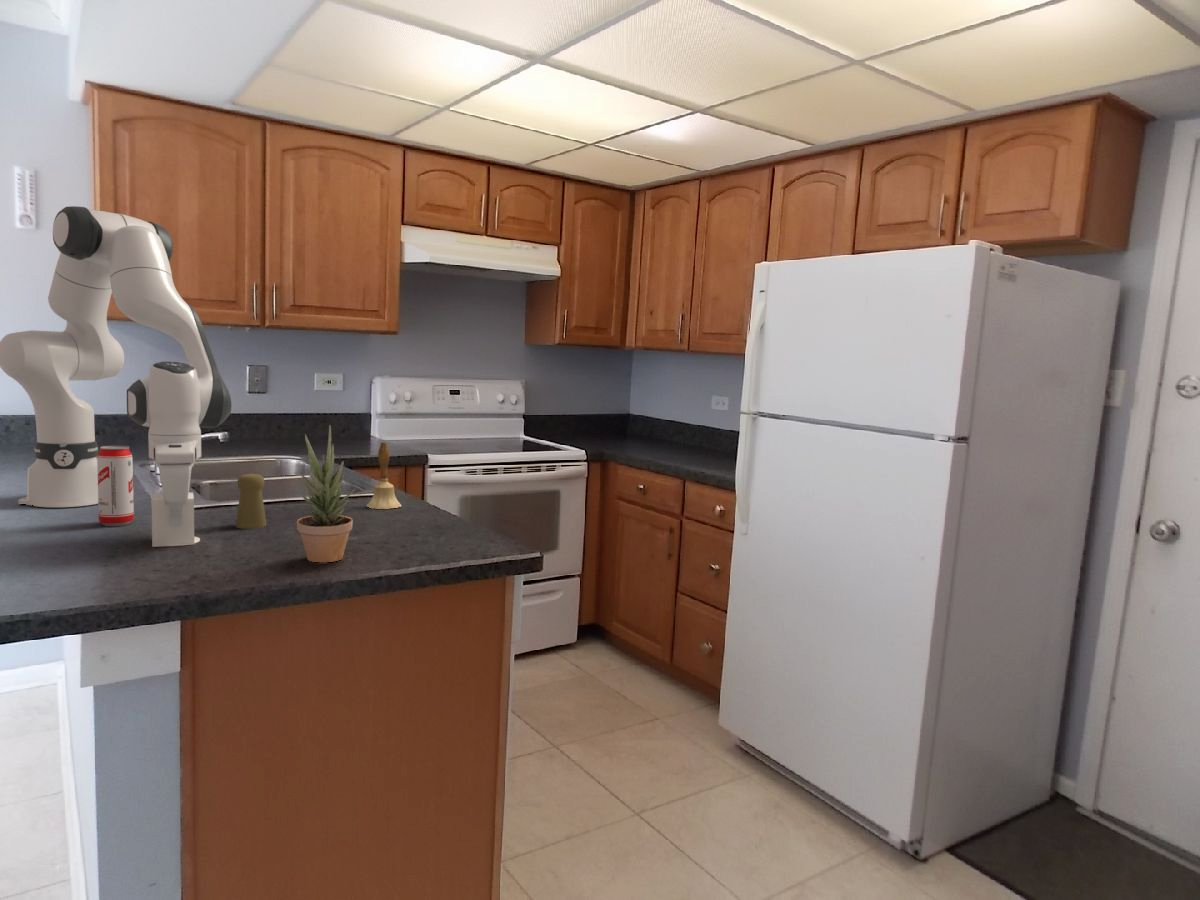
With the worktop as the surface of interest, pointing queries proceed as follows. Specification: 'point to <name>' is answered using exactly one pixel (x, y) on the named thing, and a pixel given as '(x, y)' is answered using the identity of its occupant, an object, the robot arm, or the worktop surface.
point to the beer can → (115, 486)
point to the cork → (251, 502)
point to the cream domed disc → (186, 544)
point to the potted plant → (324, 510)
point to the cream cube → (162, 523)
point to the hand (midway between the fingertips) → (176, 520)
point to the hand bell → (384, 484)
